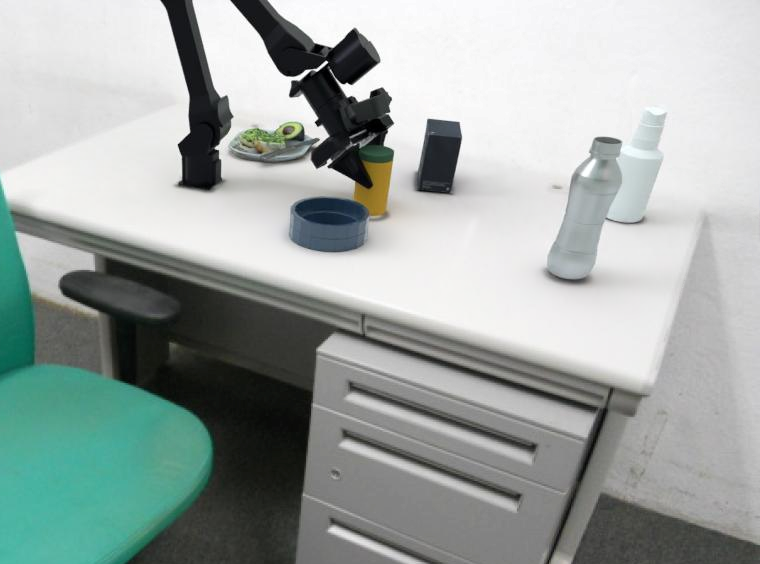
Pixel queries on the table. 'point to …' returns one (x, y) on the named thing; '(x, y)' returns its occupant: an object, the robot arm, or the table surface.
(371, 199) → the green-capped yellow cylinder
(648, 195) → the spray bottle
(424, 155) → the small box
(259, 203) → the table surface
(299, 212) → the bowl
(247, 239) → the table surface
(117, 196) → the table surface
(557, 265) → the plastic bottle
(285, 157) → the salad plate
